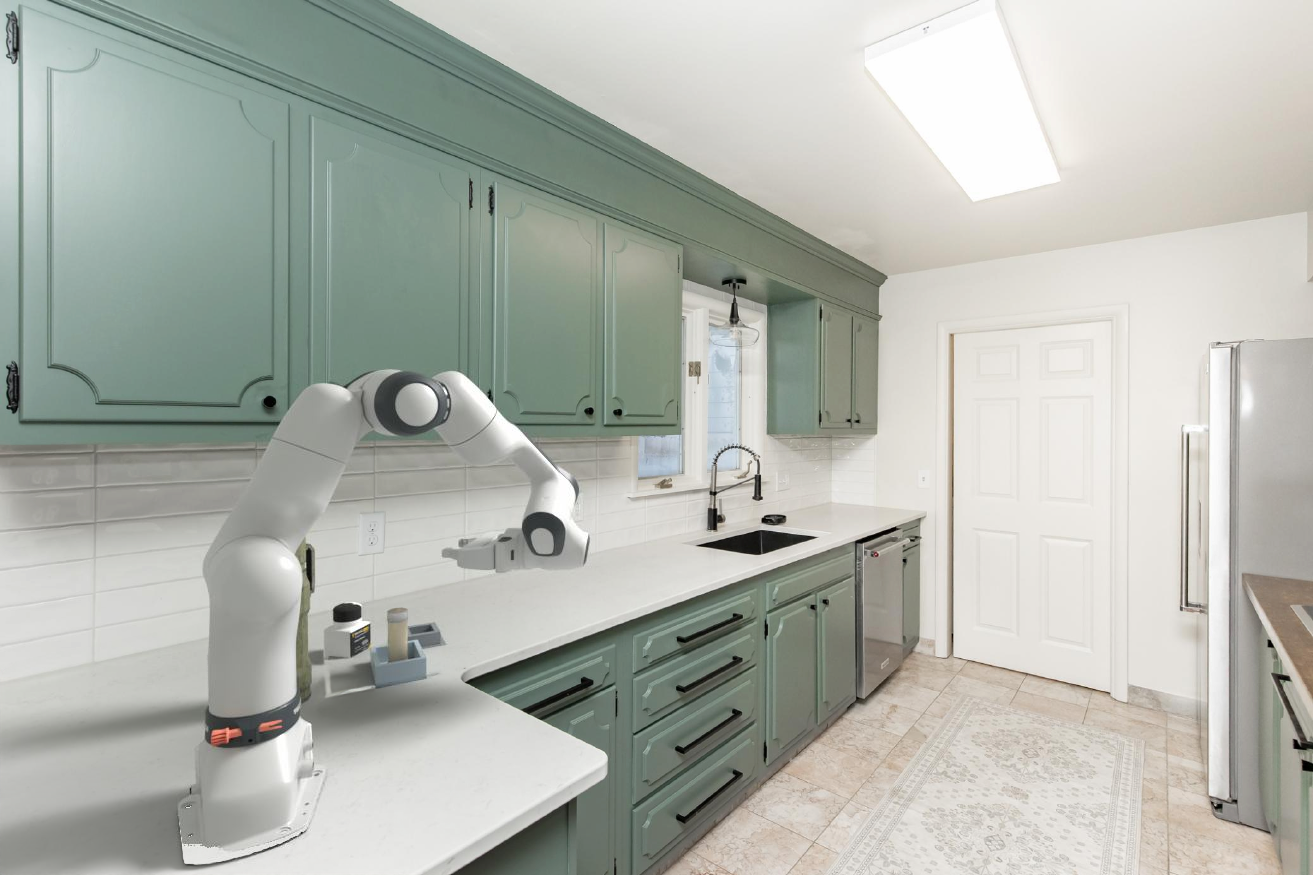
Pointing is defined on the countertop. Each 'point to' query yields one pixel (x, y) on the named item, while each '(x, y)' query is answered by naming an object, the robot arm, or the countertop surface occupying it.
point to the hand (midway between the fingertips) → (451, 547)
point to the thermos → (304, 620)
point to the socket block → (426, 635)
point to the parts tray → (397, 665)
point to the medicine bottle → (347, 632)
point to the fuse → (397, 634)
